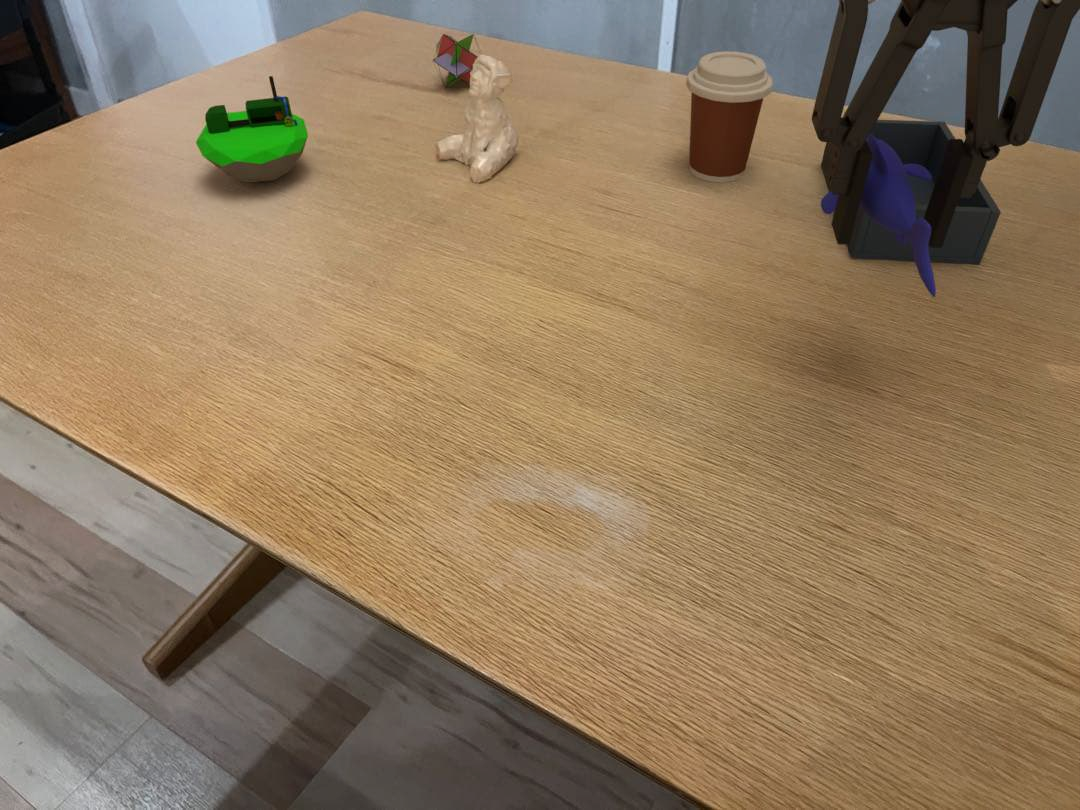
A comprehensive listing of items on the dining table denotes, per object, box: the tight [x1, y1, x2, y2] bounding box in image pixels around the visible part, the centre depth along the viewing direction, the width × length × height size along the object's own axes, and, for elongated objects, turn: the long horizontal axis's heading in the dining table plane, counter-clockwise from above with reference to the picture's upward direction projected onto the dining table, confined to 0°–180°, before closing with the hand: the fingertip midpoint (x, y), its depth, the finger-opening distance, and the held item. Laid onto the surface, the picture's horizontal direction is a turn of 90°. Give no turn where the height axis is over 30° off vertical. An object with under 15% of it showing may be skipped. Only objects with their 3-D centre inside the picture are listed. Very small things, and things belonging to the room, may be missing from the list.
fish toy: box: [820, 134, 937, 298], centre depth 55 cm, size 15×8×7 cm, turn 1°
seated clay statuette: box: [435, 53, 520, 184], centre depth 93 cm, size 10×9×12 cm
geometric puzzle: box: [431, 33, 483, 89], centre depth 112 cm, size 7×7×8 cm
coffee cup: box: [685, 50, 774, 183], centre depth 90 cm, size 9×9×12 cm
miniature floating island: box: [195, 75, 309, 183], centre depth 91 cm, size 12×12×11 cm
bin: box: [820, 119, 1002, 265], centre depth 85 cm, size 12×20×6 cm, turn 174°
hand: (885, 235), depth 57 cm, fingers closed on fish toy, 5 cm apart
